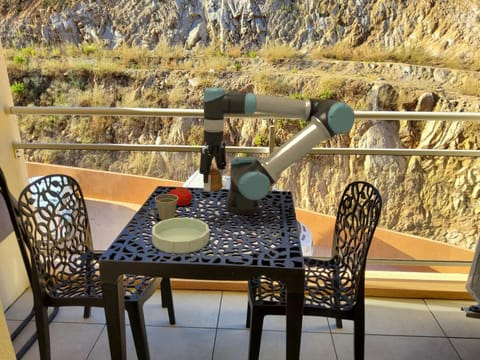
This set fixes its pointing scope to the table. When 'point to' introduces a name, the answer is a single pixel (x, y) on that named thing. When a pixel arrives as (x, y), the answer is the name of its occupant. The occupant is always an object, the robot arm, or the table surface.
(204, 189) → the robot arm
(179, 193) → the tomato
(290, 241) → the table surface
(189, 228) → the bowl
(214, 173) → the ornamental finial
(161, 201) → the flower pot
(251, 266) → the table surface
